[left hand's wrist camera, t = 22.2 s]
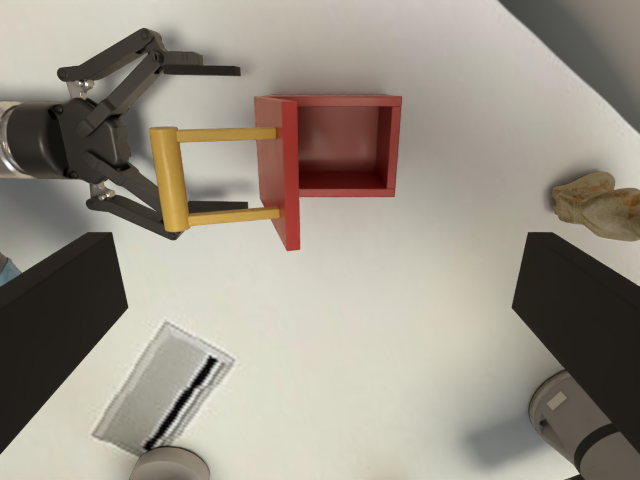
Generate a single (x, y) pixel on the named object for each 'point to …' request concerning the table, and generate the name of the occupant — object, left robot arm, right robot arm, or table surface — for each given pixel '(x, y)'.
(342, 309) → the table surface
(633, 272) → the table surface
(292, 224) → the lid
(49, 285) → the left robot arm
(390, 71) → the table surface
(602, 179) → the sculpture
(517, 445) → the table surface
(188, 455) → the bust sculpture
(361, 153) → the chest
